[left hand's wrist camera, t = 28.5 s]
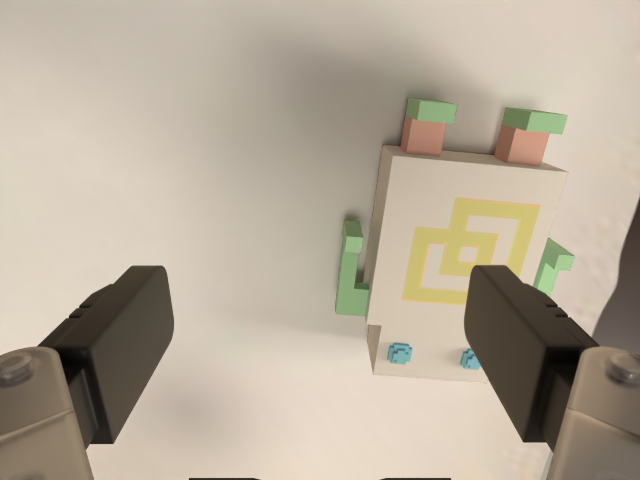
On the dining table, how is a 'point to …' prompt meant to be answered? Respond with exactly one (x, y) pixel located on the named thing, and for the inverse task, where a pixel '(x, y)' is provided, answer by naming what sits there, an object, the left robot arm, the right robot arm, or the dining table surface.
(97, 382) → the left robot arm
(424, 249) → the decorative block
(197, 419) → the dining table surface
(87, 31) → the dining table surface
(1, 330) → the dining table surface
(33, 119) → the dining table surface
